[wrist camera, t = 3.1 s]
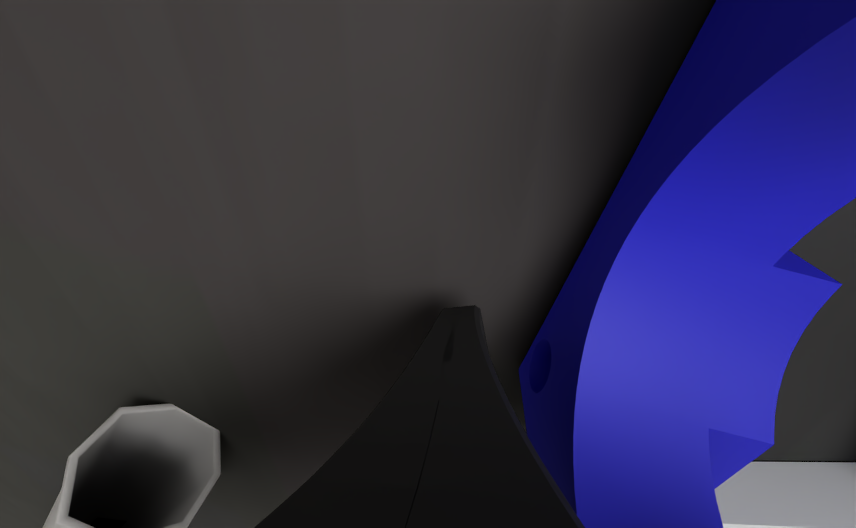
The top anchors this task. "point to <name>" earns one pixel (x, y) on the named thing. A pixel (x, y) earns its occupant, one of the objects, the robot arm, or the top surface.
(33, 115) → the top surface
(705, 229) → the cable clip
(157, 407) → the tube
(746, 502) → the bracket
